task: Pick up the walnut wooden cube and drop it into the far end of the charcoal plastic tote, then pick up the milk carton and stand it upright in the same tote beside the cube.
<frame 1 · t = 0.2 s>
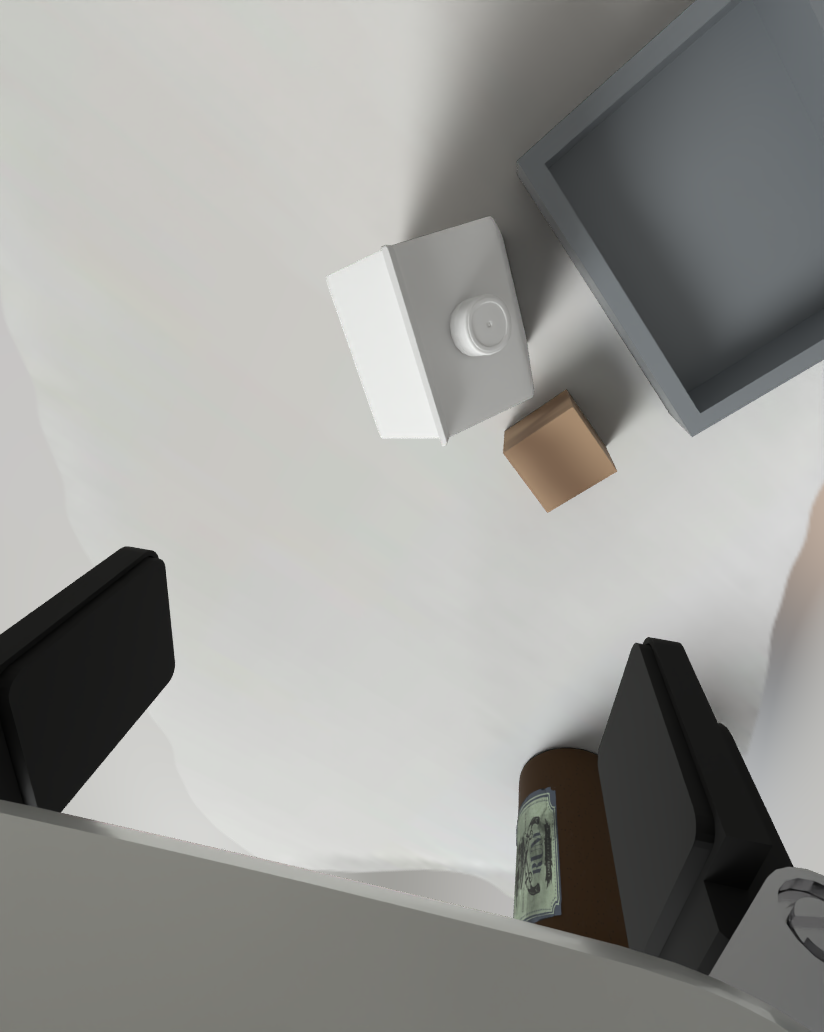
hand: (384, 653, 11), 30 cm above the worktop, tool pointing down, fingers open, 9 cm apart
milk carton: (462, 307, 37), on the worktop
walnut cube: (554, 438, 39), on the worktop
tote: (706, 222, 32), on the worktop
olive oil: (569, 780, 53), on the worktop
when the fingers open (4 cm above the worktop, at t = 8.8 s): walnut cube drops 3 cm, resting on tote.
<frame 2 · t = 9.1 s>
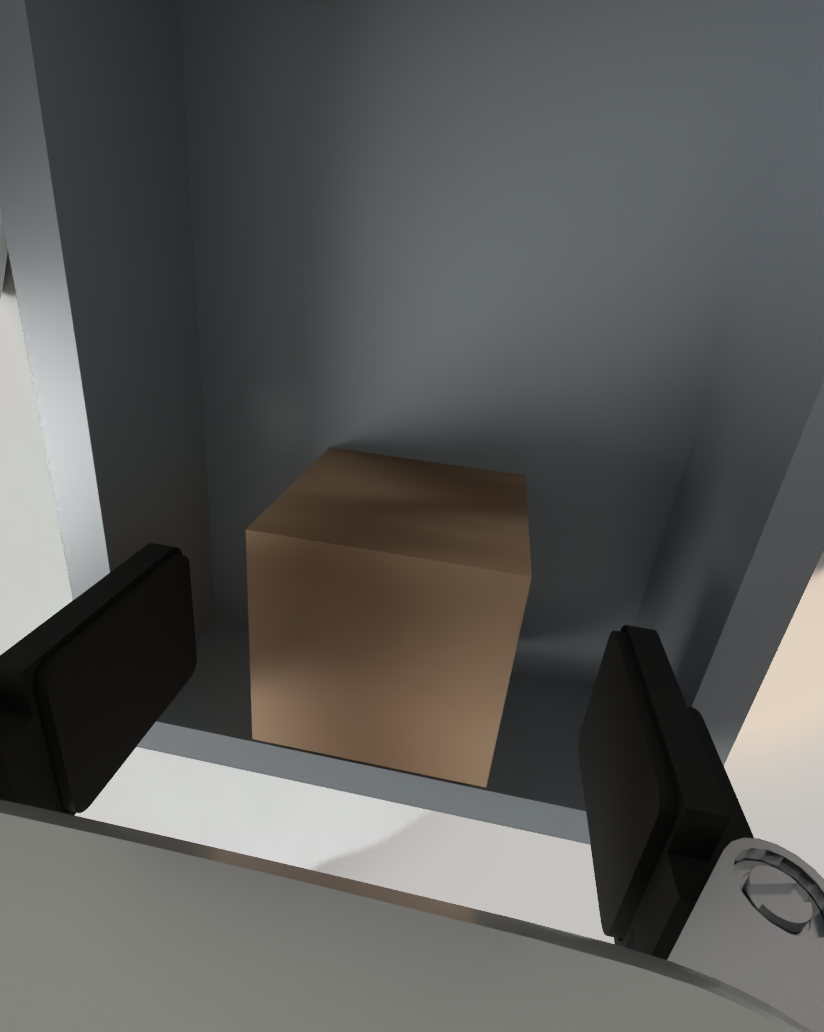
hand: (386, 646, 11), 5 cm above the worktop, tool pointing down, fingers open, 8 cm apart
walnut cube: (415, 548, 15), point 1 cm above the worktop, touching tote
tote: (441, 376, 14), on the worktop
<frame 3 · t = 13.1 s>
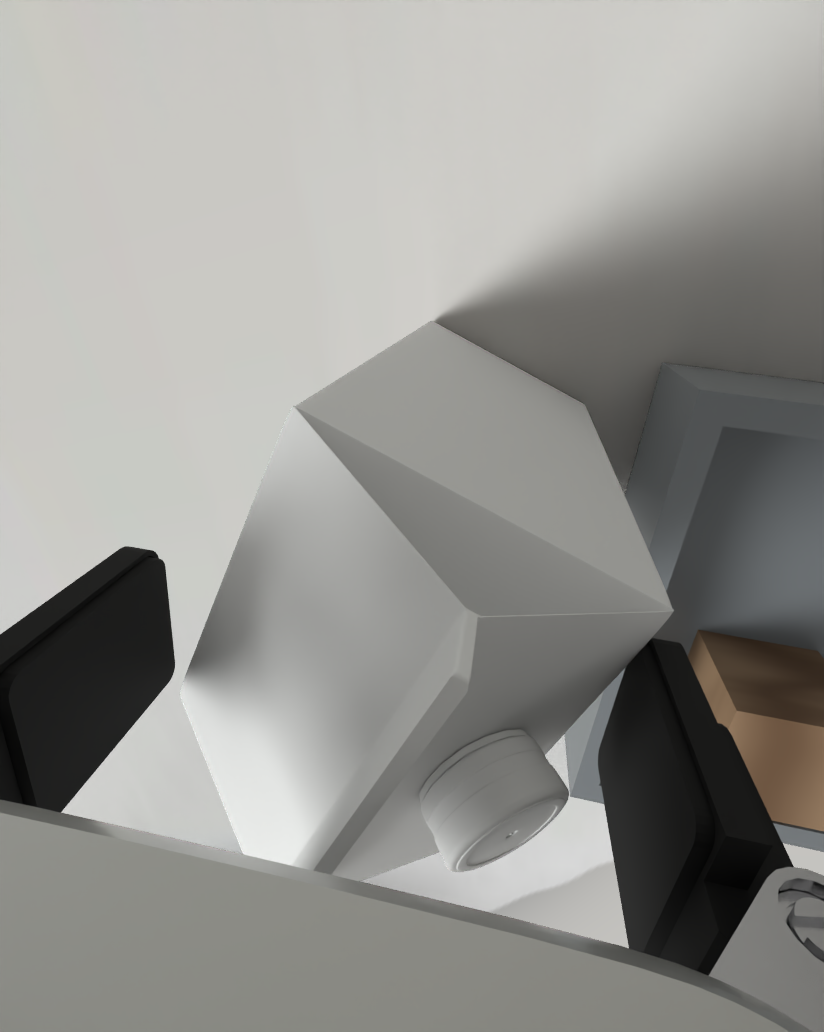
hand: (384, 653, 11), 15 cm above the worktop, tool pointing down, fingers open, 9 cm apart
milk carton: (467, 435, 24), on the worktop, touching gripper
walnut cube: (737, 683, 26), point 1 cm above the worktop, touching tote
tote: (768, 592, 24), on the worktop
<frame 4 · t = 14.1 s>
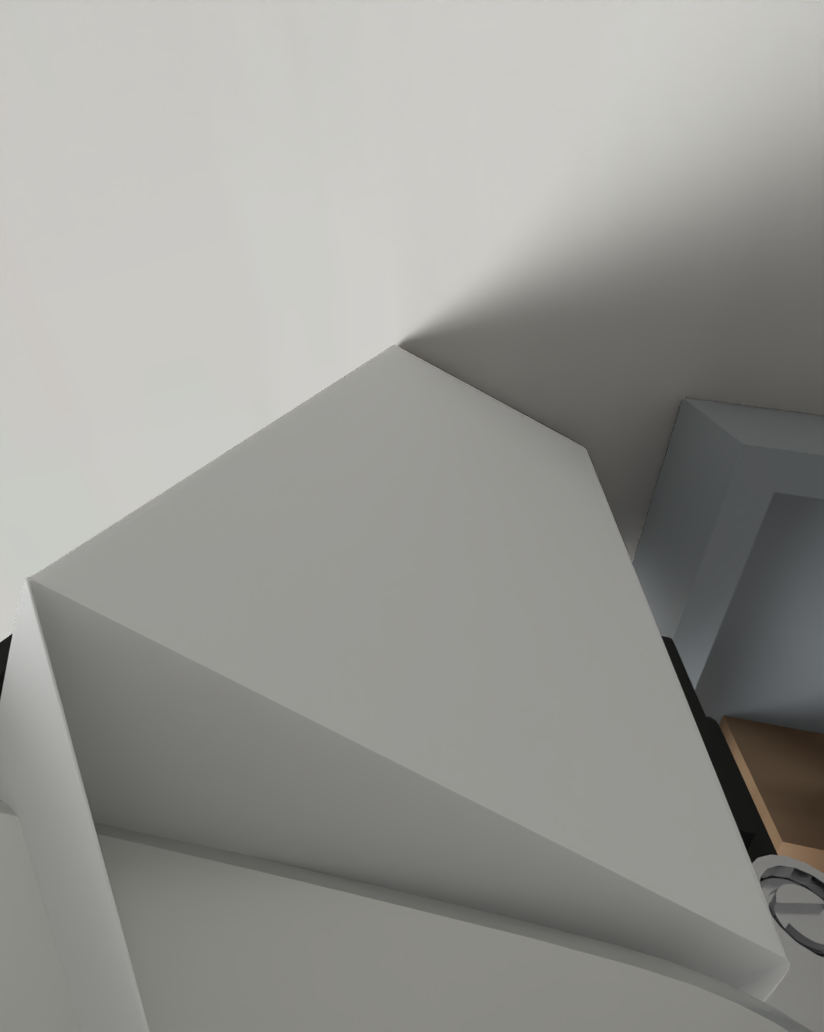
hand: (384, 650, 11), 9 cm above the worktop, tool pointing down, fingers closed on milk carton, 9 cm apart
milk carton: (441, 482, 20), on the worktop, touching gripper
walnut cube: (770, 777, 21), point 1 cm above the worktop, touching tote
tote: (808, 671, 20), on the worktop
when the fingers open (12 cm above the worktop, at t = 22.6 s): milk carton drops 2 cm, resting on tote.
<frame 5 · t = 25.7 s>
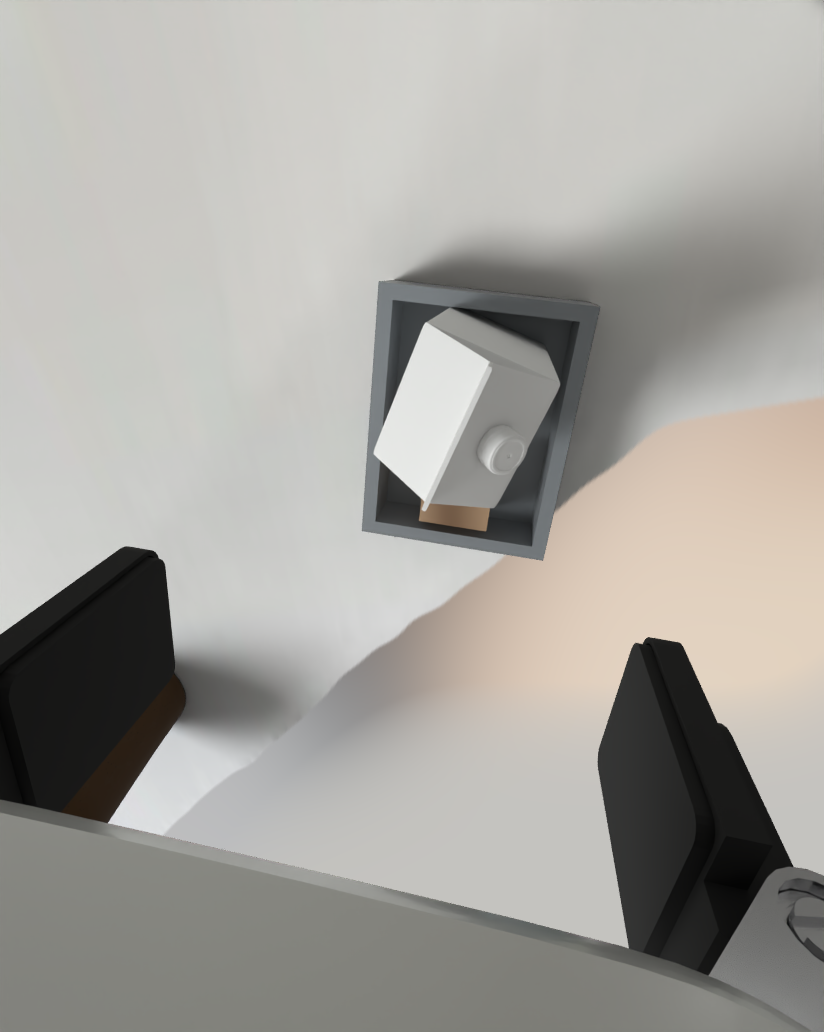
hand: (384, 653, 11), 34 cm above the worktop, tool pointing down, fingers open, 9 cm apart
milk carton: (478, 370, 41), point 1 cm above the worktop, touching tote
walnut cube: (462, 472, 45), point 1 cm above the worktop, touching tote
tote: (471, 414, 43), on the worktop
olive oil: (147, 686, 62), on the worktop
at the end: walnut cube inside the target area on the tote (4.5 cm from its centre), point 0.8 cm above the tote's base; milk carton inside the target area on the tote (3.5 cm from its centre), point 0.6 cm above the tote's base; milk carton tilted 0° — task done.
